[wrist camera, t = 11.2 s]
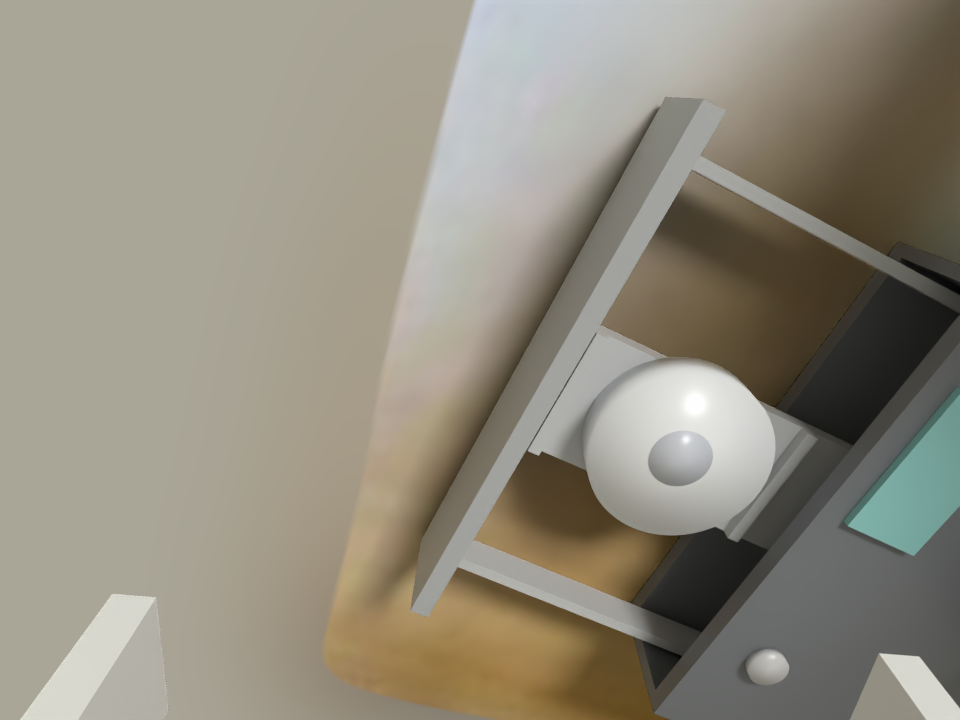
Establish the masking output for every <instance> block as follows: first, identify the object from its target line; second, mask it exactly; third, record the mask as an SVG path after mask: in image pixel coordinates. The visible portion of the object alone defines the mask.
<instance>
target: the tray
mask: <svg viewBox="0 0 960 720" xmlns="http://www.w3.org/2000/svg"><path fill="white" fill-rule="evenodd" d="M725 112H726V111H724V110H723V109H721V108H719V107H717V106H715V105H714V104H712V103H710V102H708V101H706V100H705V99H693V98H669V97H665V99H664V101H663V103H662V104H661V106H660V108H659V110H658V112H657V113H656V115H655V117H654V119H653V121H652V123H651V124H650V126H649V128H648V130H647V132H646V133H645V135H644V137H643V139H642V141H641V142H640V144H639V146H638V148H637V150H636V152H635V153H634V155H633V157H632V159H631V161H630V162H629V164H628V166H627V168H626V170H625V171H624V173H623V175H622V177H621V179H620V181H619V182H618V184H617V186H616V188H615V190H614V191H613V193H612V195H611V197H610V199H609V200H608V202H607V204H606V206H605V208H604V210H603V211H602V213H601V215H600V217H599V219H598V220H597V222H596V224H595V226H594V228H593V229H592V231H591V233H590V235H589V237H588V239H587V240H586V242H585V244H584V246H583V248H582V249H581V251H580V253H579V255H578V257H577V258H576V260H575V262H574V264H573V266H572V268H571V269H570V271H569V273H568V275H567V277H566V278H565V280H564V282H563V284H562V286H561V288H560V289H559V291H558V293H557V295H556V297H555V298H554V300H553V302H552V304H551V306H550V307H549V309H548V311H547V313H546V315H545V317H544V318H543V320H542V322H541V324H540V326H539V327H538V329H537V331H536V333H535V335H534V336H533V338H532V340H531V342H530V344H529V346H528V347H527V349H526V351H525V353H524V355H523V356H522V358H521V360H520V362H519V364H518V365H517V367H516V369H515V371H514V373H513V375H512V376H511V378H510V380H509V382H508V384H507V385H506V387H505V389H504V391H503V393H502V394H501V396H500V398H499V400H498V402H497V404H496V405H495V407H494V409H493V411H492V413H491V414H490V416H489V418H488V420H487V422H486V423H485V425H484V427H483V429H482V431H481V433H480V434H479V436H478V438H477V440H476V442H475V443H474V445H473V447H472V449H471V451H470V453H469V454H468V456H467V458H466V460H465V462H464V463H463V465H462V467H461V469H460V471H459V472H458V474H457V476H456V478H455V480H454V482H453V483H452V485H451V487H450V489H449V491H448V492H447V494H446V496H445V498H444V500H443V501H442V503H441V505H440V507H439V509H438V511H437V512H436V514H435V516H434V518H433V520H432V521H431V523H430V525H429V527H428V529H427V530H426V532H425V534H424V536H423V538H422V540H421V544H420V550H419V557H418V563H417V570H416V576H415V583H414V589H413V596H412V603H411V609H410V611H412V612H415V613H417V614H420V615H423V616H425V617H428V616H429V614H430V613H431V611H432V609H433V608H434V606H435V604H436V603H437V601H438V599H439V598H440V596H441V594H442V592H443V591H444V589H445V587H446V586H447V584H448V582H449V581H450V579H451V577H452V575H453V574H454V572H455V570H456V569H457V567H459V568H462V569H464V570H467V571H469V572H472V573H474V574H477V575H479V576H482V577H484V578H487V579H489V580H492V581H494V582H497V583H499V584H502V585H504V586H507V587H510V588H512V589H515V590H517V591H520V592H522V593H525V594H527V595H530V596H532V597H535V598H537V599H540V600H542V601H545V602H547V603H550V604H552V605H555V606H557V607H560V608H563V609H565V610H568V611H570V612H573V613H575V614H578V615H580V616H583V617H585V618H588V619H590V620H593V621H595V622H598V623H600V624H603V625H605V626H608V627H610V628H613V629H616V630H618V631H621V632H623V633H626V634H628V635H631V636H633V637H636V638H638V639H641V640H643V641H646V642H648V643H651V644H653V645H656V646H658V647H661V648H663V649H666V650H669V651H671V652H674V653H676V654H679V655H681V656H683V655H684V654H685V653H686V652H687V650H688V649H689V648H690V647H691V645H692V644H693V643H694V642H695V640H696V639H697V638H698V637H699V635H700V634H701V633H702V632H700V631H698V630H695V629H693V628H690V627H688V626H685V625H683V624H680V623H678V622H675V621H673V620H670V619H668V618H665V617H663V616H660V615H658V614H656V613H653V612H651V611H648V610H646V609H643V608H641V607H638V606H636V605H633V604H631V603H628V602H626V601H623V600H621V599H618V598H616V597H614V596H611V595H609V594H606V593H604V592H601V591H599V590H596V589H594V588H591V587H589V586H586V585H584V584H581V583H579V582H577V581H574V580H572V579H569V578H567V577H564V576H562V575H559V574H557V573H554V572H552V571H549V570H547V569H544V568H542V567H539V566H537V565H535V564H532V563H530V562H527V561H525V560H522V559H520V558H517V557H515V556H512V555H510V554H507V553H505V552H502V551H500V550H498V549H495V548H493V547H490V546H488V545H485V544H483V543H480V542H478V541H475V540H474V538H475V536H476V535H477V533H478V531H479V530H480V528H481V526H482V525H483V523H484V521H485V519H486V518H487V516H488V514H489V513H490V511H491V509H492V508H493V506H494V504H495V503H496V501H497V499H498V497H499V496H500V494H501V492H502V491H503V489H504V487H505V486H506V484H507V482H508V480H509V479H510V477H511V475H512V474H513V472H514V470H515V469H516V467H517V465H518V464H519V462H520V460H521V458H522V457H523V455H524V453H525V452H526V450H527V451H529V452H531V453H533V454H536V455H538V456H539V455H540V453H541V451H543V452H545V453H547V454H549V455H552V456H554V457H556V458H559V459H561V460H563V461H565V462H568V463H570V464H572V465H575V466H577V467H579V468H582V469H584V470H586V471H587V469H586V465H585V461H584V457H583V451H582V432H583V426H584V423H585V419H586V416H587V414H588V412H589V410H590V408H591V406H592V404H593V403H594V401H595V399H596V398H597V397H598V395H599V394H600V393H601V392H602V390H603V389H604V388H605V387H606V386H607V385H608V384H609V383H611V382H612V381H613V380H614V379H615V378H617V377H618V376H619V375H621V374H622V373H624V372H626V371H627V370H629V369H631V368H633V367H635V366H637V365H640V364H642V363H645V362H648V361H652V360H655V359H660V358H666V357H667V356H665V355H663V354H661V353H658V352H656V351H654V350H652V349H650V348H648V347H646V346H644V345H642V344H640V343H638V342H635V341H633V340H631V339H629V338H627V337H625V336H623V335H621V334H619V333H617V332H614V331H612V330H610V329H608V328H606V327H604V326H602V325H600V324H601V323H602V321H603V319H604V318H605V316H606V314H607V313H608V311H609V309H610V307H611V306H612V304H613V302H614V301H615V299H616V297H617V296H618V294H619V292H620V291H621V289H622V287H623V285H624V284H625V282H626V280H627V279H628V277H629V275H630V274H631V272H632V270H633V268H634V267H635V265H636V263H637V262H638V260H639V258H640V257H641V255H642V253H643V252H644V250H645V248H646V246H647V245H648V243H649V241H650V240H651V238H652V236H653V235H654V233H655V231H656V229H657V228H658V226H659V224H660V223H661V221H662V219H663V218H664V216H665V214H666V213H667V211H668V209H669V207H670V206H671V204H672V202H673V201H674V199H675V197H676V196H677V194H678V192H679V190H680V189H681V187H682V185H683V184H684V182H685V180H686V179H687V177H688V175H689V173H690V172H691V171H693V172H695V173H697V174H698V175H700V176H702V177H704V178H706V179H708V180H710V181H712V182H713V183H715V184H717V185H719V186H721V187H723V188H725V189H727V190H728V191H730V192H732V193H734V194H736V195H738V196H740V197H742V198H744V199H745V200H747V201H749V202H751V203H753V204H755V205H757V206H759V207H760V208H762V209H764V210H766V211H768V212H770V213H772V214H774V215H775V216H777V217H779V218H781V219H783V220H785V221H787V222H789V223H790V224H792V225H794V226H796V227H798V228H800V229H802V230H804V231H806V232H807V233H809V234H811V235H813V236H815V237H817V238H819V239H821V240H822V241H824V242H826V243H828V244H830V245H832V246H834V247H836V248H837V249H839V250H841V251H843V252H845V253H847V254H849V255H851V256H852V257H854V258H856V259H858V260H860V261H862V262H864V263H866V264H867V265H869V266H871V267H873V268H875V269H877V270H879V271H881V272H883V273H884V274H886V275H888V276H890V277H892V278H894V279H896V280H898V281H899V282H901V283H903V284H905V285H907V286H909V287H911V288H913V289H914V290H916V291H918V292H920V293H922V294H924V295H926V296H928V297H929V298H931V299H933V300H935V301H937V302H939V303H941V304H943V305H945V306H946V307H948V308H950V309H952V310H954V311H956V312H958V313H960V295H958V294H957V293H955V292H953V291H951V290H949V289H947V288H945V287H943V286H942V285H940V284H938V283H936V282H934V281H932V280H930V279H929V278H927V277H925V276H923V275H921V274H919V273H917V272H916V271H914V270H912V269H910V268H908V267H906V266H904V265H903V264H901V263H899V262H897V261H895V260H893V259H891V258H890V257H888V256H886V255H884V254H882V253H880V252H878V251H877V250H875V249H873V248H871V247H869V246H867V245H865V244H864V243H862V242H860V241H858V240H856V239H854V238H852V237H851V236H849V235H847V234H845V233H843V232H841V231H839V230H838V229H836V228H834V227H832V226H830V225H828V224H826V223H825V222H823V221H821V220H819V219H817V218H815V217H813V216H812V215H810V214H808V213H806V212H804V211H802V210H800V209H798V208H797V207H795V206H793V205H791V204H789V203H787V202H785V201H784V200H782V199H780V198H778V197H776V196H774V195H772V194H771V193H769V192H767V191H765V190H763V189H761V188H759V187H758V186H756V185H754V184H752V183H750V182H748V181H746V180H745V179H743V178H741V177H739V176H737V175H735V174H733V173H732V172H730V171H728V170H726V169H724V168H722V167H720V166H719V165H717V164H715V163H713V162H711V161H709V160H707V159H706V158H704V157H702V156H700V155H701V153H702V151H703V150H704V148H705V146H706V145H707V143H708V141H709V140H710V138H711V136H712V134H713V133H714V131H715V129H716V128H717V126H718V124H719V123H720V121H721V119H722V118H723V116H724V114H725ZM758 401H759V400H758ZM759 403H760V404H761V405H762V407H763V408H764V409H765V411H766V413H767V415H768V416H769V418H770V421H771V424H772V426H773V430H774V435H775V458H774V463H773V466H772V470H771V472H770V475H769V477H768V479H767V481H766V483H765V485H764V486H763V488H762V490H761V491H760V492H759V494H758V495H757V496H756V497H755V499H754V500H753V501H752V502H751V503H750V504H749V505H748V506H747V507H746V508H745V509H743V510H742V511H741V512H740V513H738V514H737V515H736V516H734V517H732V518H731V519H729V520H728V521H726V522H724V523H722V524H720V525H718V526H716V527H717V528H719V529H721V530H724V532H725V534H726V536H727V538H729V539H731V540H733V541H736V542H738V541H739V540H740V539H741V538H742V539H744V540H747V541H749V542H751V543H754V544H756V545H758V546H760V547H763V548H765V549H767V550H769V549H770V548H771V547H772V545H773V544H774V543H775V542H776V541H777V539H778V538H779V537H780V536H781V534H782V533H783V532H784V531H785V529H786V528H787V527H788V526H789V525H790V523H791V522H792V521H793V520H794V518H795V517H796V516H797V515H798V513H799V512H800V511H801V510H802V508H803V507H804V506H805V505H806V504H807V502H808V501H809V500H810V499H811V497H812V496H813V495H814V494H815V492H816V491H817V490H818V489H819V488H820V486H821V485H822V484H823V483H824V481H825V480H826V479H827V478H828V476H829V475H830V474H831V473H832V472H833V470H834V469H835V468H836V467H837V465H838V464H839V463H840V462H841V460H842V459H843V458H844V457H845V455H846V454H847V453H848V452H849V451H850V449H851V448H852V447H853V445H851V444H849V443H847V442H845V441H843V440H841V439H839V438H837V437H834V436H832V435H830V434H828V433H826V432H824V431H822V430H820V429H818V428H816V427H813V426H811V425H809V424H807V423H805V422H803V421H801V420H799V419H797V418H795V417H793V416H790V415H788V414H786V413H784V412H782V411H780V410H778V409H776V408H774V407H772V406H769V405H767V404H765V403H763V402H761V401H759Z"/></svg>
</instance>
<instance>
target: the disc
mask: <svg viewBox="0 0 960 720" xmlns="http://www.w3.org/2000/svg"><path fill="white" fill-rule="evenodd" d="M582 451H583V457H584V461H585V465H586V469H587V473H588V477H589V481H590V484H591V487H592V489H593V491H594V493H595V495H596V497H597V499H598V500H599V502H600V503H601V504H602V506H603V507H604V508H605V509H606V510H607V511H608V512H609V513H610V514H611V515H612V516H614V517H615V518H616V519H617V520H619V521H621V522H622V523H624V524H626V525H628V526H630V527H632V528H634V529H637V530H640V531H643V532H647V533H652V534H657V535H670V536H671V535H686V534H692V533H697V532H701V531H705V530H707V529H710V528H713V527H716V526H718V525H720V524H722V523H724V522H726V521H728V520H729V519H731V518H732V517H734V516H736V515H737V514H738V513H740V512H741V511H742V510H743V509H745V508H746V507H747V506H748V505H749V504H750V503H751V502H752V501H753V500H754V499H755V497H756V496H757V495H758V494H759V492H760V491H761V490H762V488H763V486H764V485H765V483H766V481H767V479H768V477H769V475H770V472H771V470H772V466H773V463H774V458H775V435H774V430H773V426H772V424H771V421H770V418H769V416H768V415H767V413H766V411H765V409H764V408H763V407H762V405H761V404H760V403H759V401H758V400H757V399H756V398H755V397H754V396H753V394H752V393H751V392H750V391H749V390H748V389H747V387H746V386H745V385H744V384H743V383H742V382H741V381H740V380H739V379H738V378H737V377H736V376H735V375H734V374H732V373H731V372H729V371H728V370H726V369H725V368H723V367H721V366H719V365H717V364H715V363H712V362H709V361H706V360H703V359H698V358H693V357H666V358H660V359H655V360H652V361H648V362H645V363H642V364H640V365H637V366H635V367H633V368H631V369H629V370H627V371H626V372H624V373H622V374H621V375H619V376H618V377H617V378H615V379H614V380H613V381H612V382H611V383H609V384H608V385H607V386H606V387H605V388H604V389H603V390H602V392H601V393H600V394H599V395H598V397H597V398H596V399H595V401H594V403H593V404H592V406H591V408H590V410H589V412H588V414H587V416H586V419H585V423H584V426H583V432H582Z"/></svg>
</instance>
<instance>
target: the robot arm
mask: <svg viewBox="0 0 960 720" xmlns="http://www.w3.org/2000/svg"><path fill="white" fill-rule="evenodd" d="M168 710H169V706H168V698H167V689H166V679H165V670H164V661H163V652H162V643H161V634H160V625H159V617H158V607H157V598H156V597H144V596H131V595H118V594H112V595H111V597H110V598H109V599H108V601H107V602H106V603H105V605H104V606H103V608H102V609H101V610H100V612H99V613H98V614H97V616H96V617H95V618H94V620H93V621H92V622H91V624H90V625H89V627H88V628H87V629H86V631H85V632H84V633H83V635H82V636H81V638H80V639H79V640H78V642H77V643H76V644H75V646H74V647H73V648H72V650H71V651H70V652H69V654H68V655H67V657H66V658H65V659H64V661H63V662H62V663H61V665H60V666H59V667H58V669H57V670H56V671H55V673H54V674H53V676H52V677H51V678H50V680H49V681H48V682H47V684H46V685H45V686H44V688H43V689H42V691H41V692H40V693H39V695H38V696H37V697H36V699H35V700H34V702H33V703H32V704H31V706H30V707H29V708H28V710H27V711H26V712H25V714H24V715H23V717H22V718H21V719H20V720H164V718H165V717H166V714H167V712H168ZM850 720H960V708H959V707H958V706H957V704H956V703H955V702H954V700H953V699H952V698H951V697H950V695H949V694H948V693H947V691H946V690H945V689H944V688H943V686H942V685H941V684H940V682H939V681H938V680H937V679H936V677H935V676H934V675H933V673H932V672H931V671H930V670H929V668H928V667H927V666H926V664H925V663H924V662H923V661H922V659H921V658H920V657H919V656H906V655H893V654H881V653H879V654H878V657H877V659H876V661H875V663H874V666H873V668H872V670H871V673H870V675H869V677H868V679H867V682H866V684H865V686H864V689H863V691H862V693H861V695H860V698H859V700H858V702H857V705H856V707H855V709H854V711H853V714H852V716H851V718H850Z"/></svg>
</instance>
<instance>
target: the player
mask: <svg viewBox="0 0 960 720" xmlns="http://www.w3.org/2000/svg"><path fill="white" fill-rule="evenodd" d="M888 257H890V258H891V259H893V260H895V261H897V262H899V263H901V264H903V265H904V266H906V267H908V268H910V269H912V270H914V271H916V272H917V273H919V274H921V275H923V276H925V277H927V278H929V279H930V280H932V281H934V282H936V283H938V284H940V285H942V286H943V287H945V288H947V289H949V290H951V291H953V292H955V293H957V294H958V295H960V265H959V264H956V263H953V262H951V261H948V260H945V259H943V258H940V257H937V256H935V255H932V254H929V253H927V252H924V251H921V250H918V249H916V248H913V247H910V246H908V245H905V244H902V243H900V242H898V243H897V244H896V245H895V247H894V248H893V249H892V251H891V252H890V253H889V255H888ZM776 409H778V410H780V411H782V412H784V413H786V414H788V415H790V416H793V417H795V418H797V419H799V420H801V421H803V422H805V423H807V424H809V425H811V426H813V427H816V428H818V429H820V430H822V431H824V432H826V433H828V434H830V435H832V436H834V437H837V438H839V439H841V440H843V441H845V442H847V443H849V444H851V445H853V447H852V448H851V449H850V451H849V452H848V453H847V454H846V455H845V457H844V458H843V459H842V460H841V462H840V463H839V464H838V465H837V467H836V468H835V469H834V470H833V472H832V473H831V474H830V475H829V476H828V478H827V479H826V480H825V481H824V483H823V484H822V485H821V486H820V488H819V489H818V490H817V491H816V492H815V494H814V495H813V496H812V497H811V499H810V500H809V501H808V502H807V504H806V505H805V506H804V507H803V508H802V510H801V511H800V512H799V513H798V515H797V516H796V517H795V518H794V520H793V521H792V522H791V523H790V525H789V526H788V527H787V528H786V529H785V531H784V532H783V533H782V534H781V536H780V537H779V538H778V539H777V541H776V542H775V543H774V544H773V545H772V547H771V548H770V549H769V550H767V549H765V548H763V547H760V546H758V545H756V544H754V543H751V542H749V541H747V540H744V539H742V538H741V539H740V540H739V541H738V542H736V541H733V540H731V539H729V538H727V536H726V534H725V532H724V530H721V529H719V528H717V527H713V528H710V529H707V530H705V531H701V532H697V533H692V534H686V535H681V536H680V538H679V539H678V540H677V542H676V543H675V545H674V546H673V547H672V549H671V550H670V551H669V553H668V554H667V555H666V557H665V558H664V559H663V561H662V562H661V563H660V565H659V566H658V568H657V569H656V570H655V572H654V573H653V574H652V576H651V577H650V578H649V580H648V581H647V582H646V584H645V585H644V586H643V588H642V589H641V591H640V592H639V593H638V595H637V596H636V597H635V599H634V600H633V601H632V603H631V604H633V605H636V606H638V607H641V608H643V609H646V610H648V611H651V612H653V613H656V614H658V615H660V616H663V617H665V618H668V619H670V620H673V621H675V622H678V623H680V624H683V625H685V626H688V627H690V628H693V629H695V630H698V631H700V632H702V633H701V634H700V635H699V637H698V638H697V639H696V640H695V642H694V643H693V644H692V645H691V647H690V648H689V649H688V650H687V652H686V653H685V654H684V655H683V656H681V655H679V654H676V653H674V652H671V651H669V650H666V649H663V648H661V647H658V646H656V645H653V644H651V643H648V642H646V641H643V640H641V639H638V638H636V637H634V641H635V644H636V648H637V652H638V656H639V660H640V663H641V667H642V671H643V675H644V679H645V683H646V686H647V690H648V694H649V698H650V702H651V705H652V709H653V713H654V714H656V715H659V716H662V717H664V718H667V719H670V720H850V718H851V716H852V714H853V711H854V709H855V707H856V705H857V702H858V700H859V698H860V695H861V693H862V691H863V689H864V686H865V684H866V682H867V679H868V677H869V675H870V673H871V670H872V668H873V666H874V663H875V661H876V659H877V657H878V654H879V653H881V654H893V655H906V656H919V657H920V658H921V659H922V661H923V662H924V663H925V664H926V666H927V667H928V668H929V670H930V671H931V672H932V673H933V675H934V676H935V677H936V679H937V680H938V681H939V682H940V684H941V685H942V686H943V688H944V689H945V690H946V691H947V693H948V694H949V695H950V697H951V698H952V699H953V700H954V702H955V703H956V704H957V706H958V707H959V708H960V313H958V312H956V311H954V310H952V309H950V308H948V307H946V306H945V305H943V304H941V303H939V302H937V301H935V300H933V299H931V298H929V297H928V296H926V295H924V294H922V293H920V292H918V291H916V290H914V289H913V288H911V287H909V286H907V285H905V284H903V283H901V282H899V281H898V280H896V279H894V278H892V277H890V276H888V275H886V274H884V273H883V272H881V271H879V270H877V271H876V272H875V274H874V275H873V276H872V278H871V279H870V281H869V282H868V283H867V285H866V286H865V287H864V289H863V290H862V291H861V293H860V294H859V295H858V297H857V298H856V299H855V301H854V302H853V304H852V305H851V306H850V308H849V309H848V310H847V312H846V313H845V314H844V316H843V317H842V318H841V320H840V321H839V323H838V324H837V325H836V327H835V328H834V329H833V331H832V332H831V333H830V335H829V336H828V337H827V339H826V340H825V341H824V343H823V344H822V346H821V347H820V348H819V350H818V351H817V352H816V354H815V355H814V356H813V358H812V359H811V360H810V362H809V363H808V364H807V366H806V367H805V369H804V370H803V371H802V373H801V374H800V375H799V377H798V378H797V379H796V381H795V382H794V383H793V385H792V386H791V387H790V389H789V390H788V392H787V393H786V394H785V396H784V397H783V398H782V400H781V401H780V402H779V404H778V405H777V406H776Z"/></svg>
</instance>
